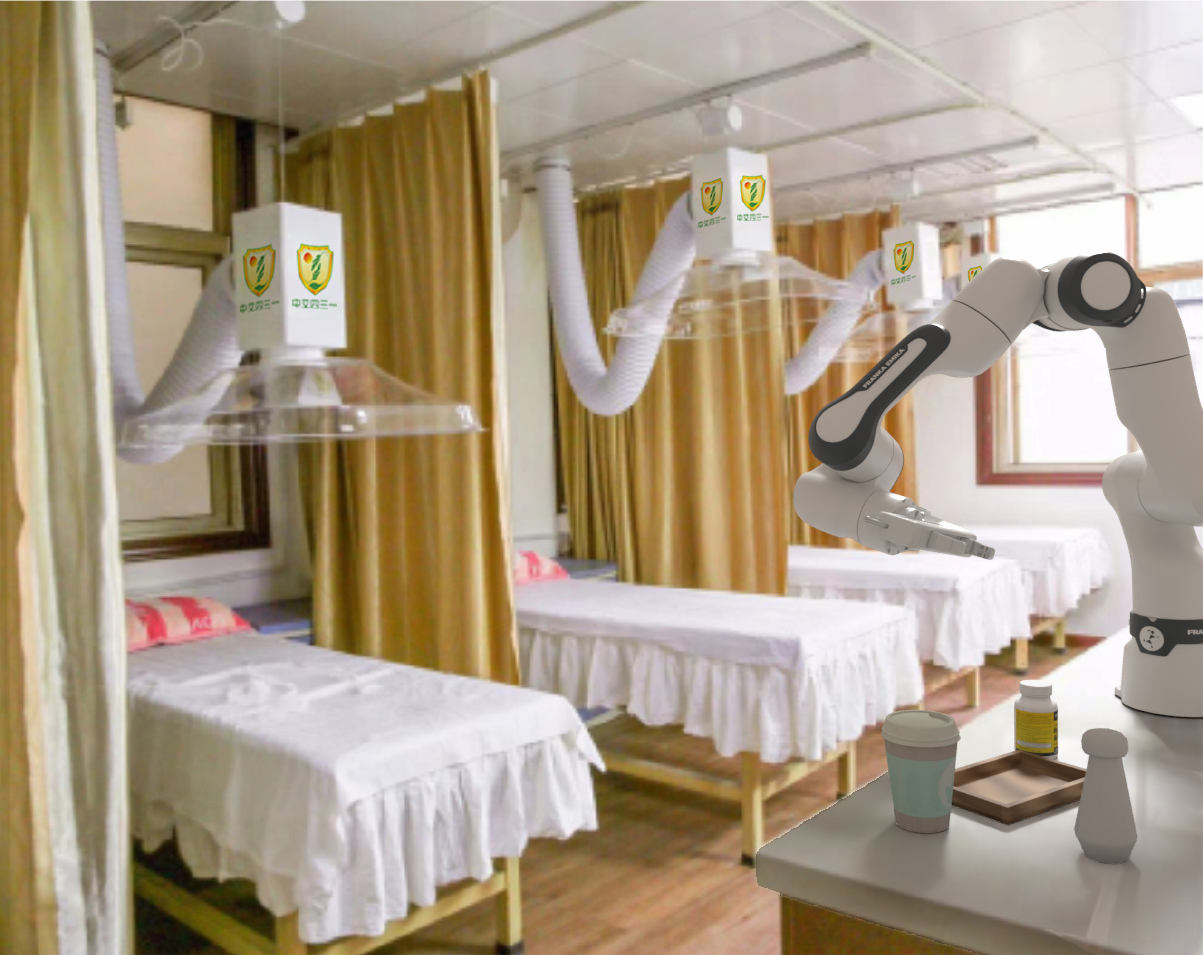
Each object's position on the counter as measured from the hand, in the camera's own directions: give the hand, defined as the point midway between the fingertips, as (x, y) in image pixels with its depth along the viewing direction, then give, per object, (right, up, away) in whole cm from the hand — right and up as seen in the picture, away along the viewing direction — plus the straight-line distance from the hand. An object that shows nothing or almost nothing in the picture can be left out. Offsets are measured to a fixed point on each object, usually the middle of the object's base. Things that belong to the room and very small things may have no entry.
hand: (979, 552), depth 146 cm
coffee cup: (-16, -29, -27) cm, 43 cm away
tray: (-3, -28, -19) cm, 34 cm away
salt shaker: (-1, -29, -38) cm, 47 cm away
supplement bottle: (+6, -27, -6) cm, 28 cm away
